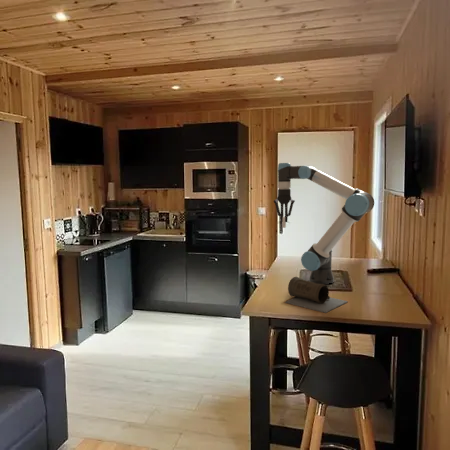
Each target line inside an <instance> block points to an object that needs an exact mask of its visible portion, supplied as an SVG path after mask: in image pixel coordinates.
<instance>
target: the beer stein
mask: <svg viewBox="0 0 450 450" xmlns="http://www.w3.org/2000/svg"><path fill="white" fill-rule="evenodd" d="M287 291H288V294H289V295H290V296H291V297H294V298H296V297H301V298H305V299H309V300H312V301H316V302H317V303H324V302H325V301H326V300H327V299H330V295H329V293H330V291H329V287H328V285H327V284H316V283H313V282H310V281H309V280H306V279H303V278H301V277H298V276H293V277H292V278H291V279H290V280H289V283H288V286H287Z"/></svg>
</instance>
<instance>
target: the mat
mask: <svg viewBox="0 0 450 450" xmlns="http://www.w3.org/2000/svg"><path fill="white" fill-rule="evenodd" d="M329 297H330V296H329ZM347 303H348V301H347V300H343V299H341V298H340V299H339V298H334V297H330V299H327V300H326V301H325V302H324V303H317V302H316V301H312V300H309V299H305V298H301V297H294V298H291V299H289V300H286V301H285V304H289V305H293V306H297V307H301V308H305V309H310V310H311V311H317V312H320V313H325V314H327V313H328V312H331V311H333V310H335V309H337V308H339V307H341V306H343V305H345V304H347Z"/></svg>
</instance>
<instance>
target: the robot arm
mask: <svg viewBox="0 0 450 450" xmlns="http://www.w3.org/2000/svg"><path fill="white" fill-rule="evenodd" d="M277 166H278V167H277V188H278V189H277V197H276V199H274V200H273V203H274V205H275V209H276V213H277V216H279V217H280V222H281V223H282V228H283V229H284V228H286V227H287V223H288V219H289V218H288V217H291V215H292V211H293V205H294V204H295V202H296V200H295V199H292V197H291V196H292V195H291V192H292V191H291V188H292V187H291V185H292V184H291V180H295V179H297V180H309V181H311V182H313V183H315V184H316V185H318V186H320V187H322V188H324V189H326V190H328V191H330V192H332V194H333V193H334V194H335V195H337V196H339V197H341V198H343V199H344V200H345V202H344V205H343V206H342V207H341V213H340V214H339V216H338V217H337V218H336V219H335V221H334V222H333V223H332V224H331V226H330V227H329V228H328V229H327V230H326V232H325V233H324V234H323V236H322V237H321V238H320V239H319V240H318V241H317V243H313V244H312V245H311V246H310V247H309V248H308V250H307V251H305V252H304V253H303V254H302V255H301V257H300V261H301V265H302V266H303V268H305V269H306V270H307V271H310V274H309V277H308V281H310V282H313V283H316V284H324V285H330V284H329V283H332V284H334V283H333V282H335V277H334V274H333V270H332V261H333V260H332V257H333V256H332V254H333V253H332V252H333V251H332V250H333V248H334V247H335V246H336V245H337V244H338V243H339V241H340V240H341V239H342V238H343V237H344V235H345V234H346V233H347V232H348V231H349V229H350V228H351V227H352V226H353V224H355V222H356V223H357V222H359V221H360V220H362V218H363V217H364V216H365V215H366V214H367V213H369V212H370V211H372V210H373V209H374V206H375V198H374V197H373V195H372V194H370V193H368V192H366V191H363V190H361V189H360V188H353V187H352V186H350V185H348V184H347V183H343V182H342V181H340V180H338V179H336V178H334V177H333V176H330V175H328V174H326V173H324V172H322V171H321V170H318V169H317V168H316V167H315V166H314V165H313V166H312V165H295V166H294V165H292V164H291V163H290V162H280V163H278V165H277ZM279 203H280V207H279ZM289 203H290V205H289ZM288 206H289V207H288ZM288 208H289V209H288Z"/></svg>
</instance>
